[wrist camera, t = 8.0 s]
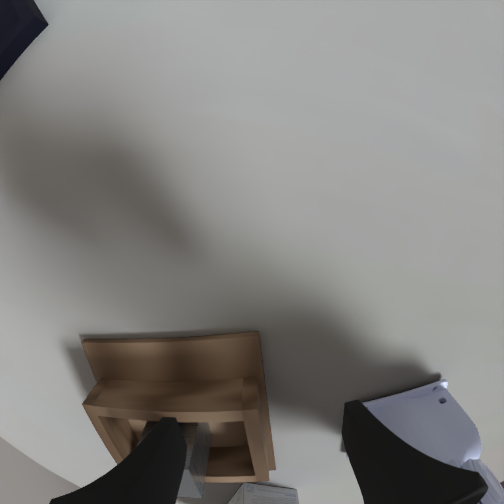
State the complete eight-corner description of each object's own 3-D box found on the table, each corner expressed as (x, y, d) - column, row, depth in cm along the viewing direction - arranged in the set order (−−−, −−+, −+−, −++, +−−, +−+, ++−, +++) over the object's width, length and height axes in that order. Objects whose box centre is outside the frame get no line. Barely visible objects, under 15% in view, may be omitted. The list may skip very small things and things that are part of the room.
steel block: (202, 401, 21) (188, 469, 14) (211, 434, 22) (202, 498, 15) (155, 400, 21) (129, 463, 14) (167, 433, 22) (149, 492, 15)
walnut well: (258, 331, 20) (259, 364, 16) (275, 465, 24) (277, 497, 19) (84, 339, 20) (59, 365, 16) (143, 463, 24) (133, 491, 20)
